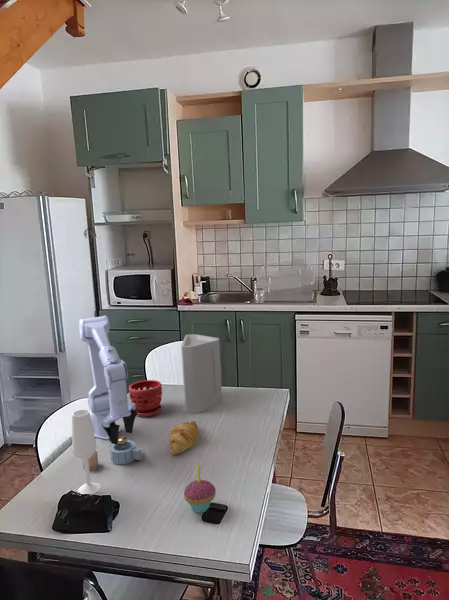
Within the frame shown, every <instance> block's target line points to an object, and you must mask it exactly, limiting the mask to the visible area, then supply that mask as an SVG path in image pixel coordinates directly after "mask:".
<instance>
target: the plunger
mask: <svg viewBox="0 0 449 600" xmlns="http://www.w3.org/2000/svg"><path fill="white" fill-rule="evenodd" d="M127 440H128V438H127V436H120V437H119V436H118V445H121V447H122V451H123V450H125V449H124V445H125V444H127Z"/></svg>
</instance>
